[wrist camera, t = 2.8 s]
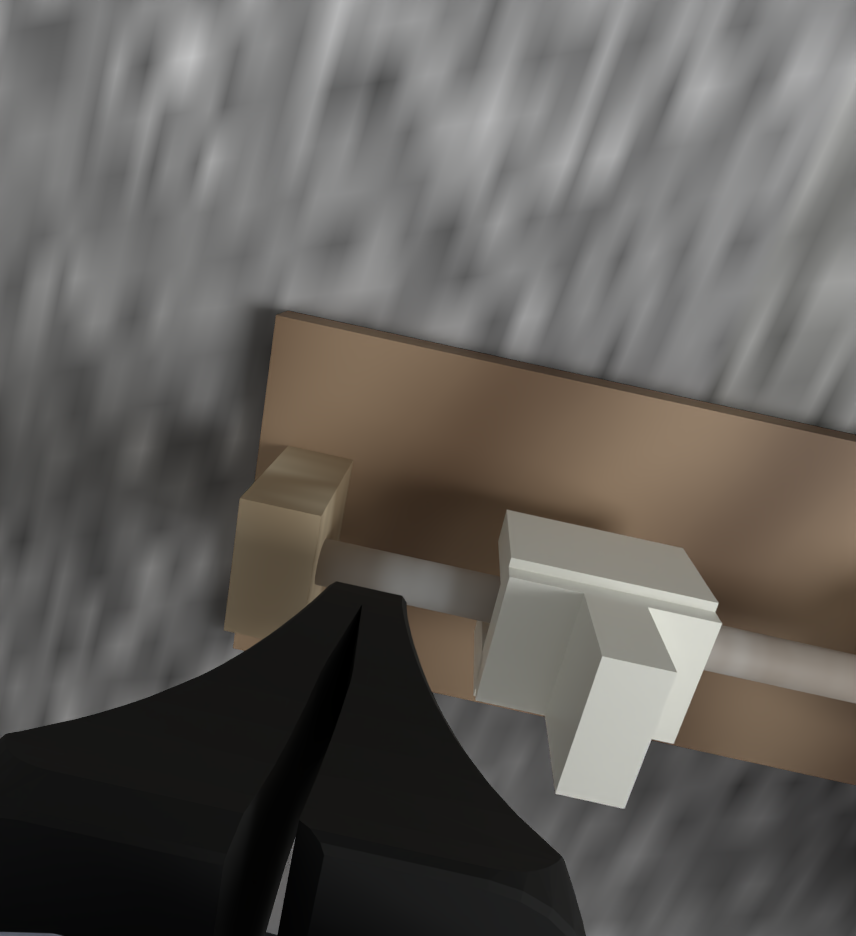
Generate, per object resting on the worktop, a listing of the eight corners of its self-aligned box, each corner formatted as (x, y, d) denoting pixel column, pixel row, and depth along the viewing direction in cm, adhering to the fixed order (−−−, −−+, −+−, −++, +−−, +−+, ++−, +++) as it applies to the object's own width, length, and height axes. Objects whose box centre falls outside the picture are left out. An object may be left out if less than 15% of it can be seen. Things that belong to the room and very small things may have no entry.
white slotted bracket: (682, 548, 15) (770, 681, 11) (639, 667, 16) (701, 835, 12) (506, 509, 15) (518, 626, 11) (474, 631, 16) (471, 785, 12)
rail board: (1268, 525, 16) (1598, 646, 11) (1075, 811, 19) (1273, 1002, 14) (287, 310, 16) (207, 341, 12) (245, 627, 19) (166, 758, 14)
